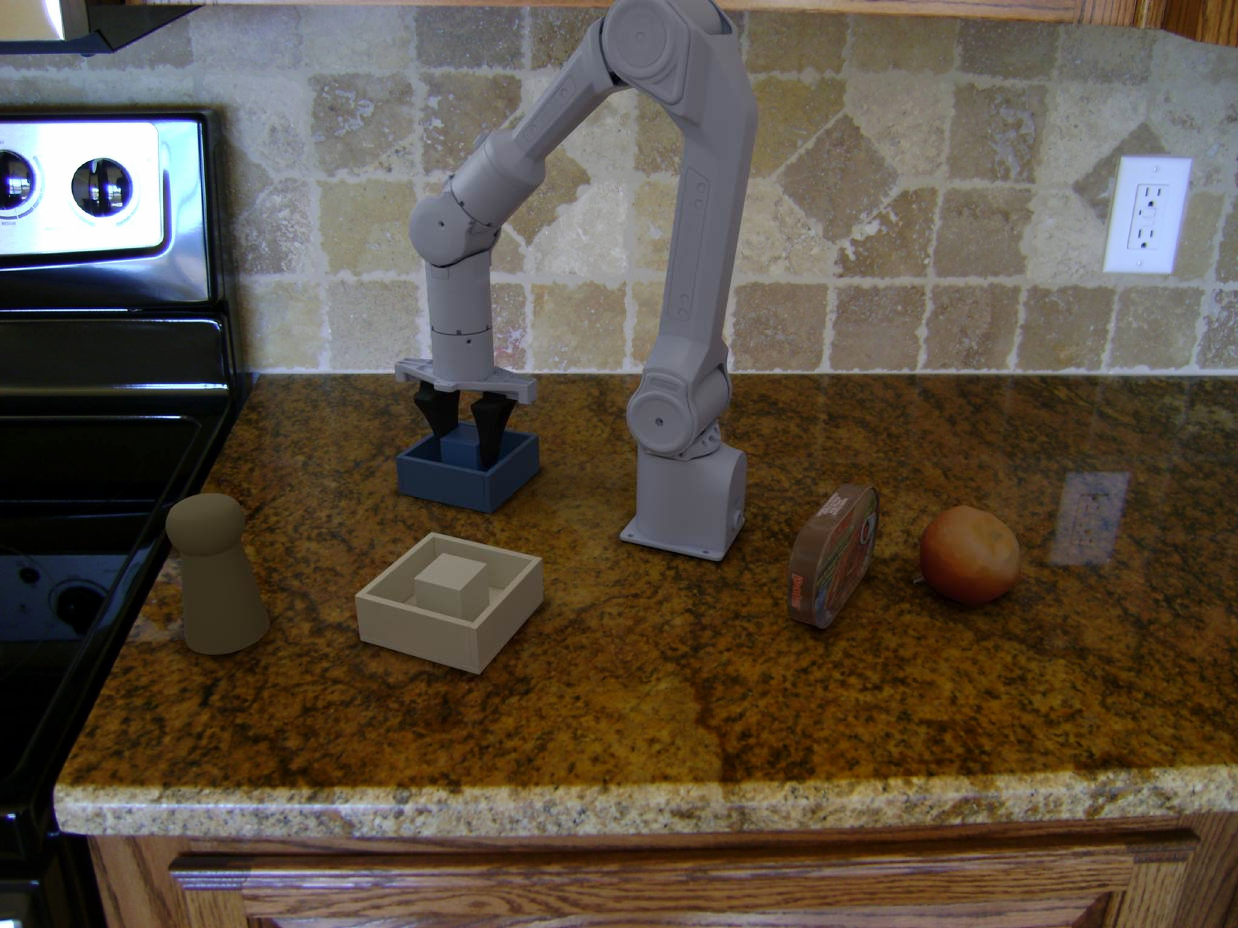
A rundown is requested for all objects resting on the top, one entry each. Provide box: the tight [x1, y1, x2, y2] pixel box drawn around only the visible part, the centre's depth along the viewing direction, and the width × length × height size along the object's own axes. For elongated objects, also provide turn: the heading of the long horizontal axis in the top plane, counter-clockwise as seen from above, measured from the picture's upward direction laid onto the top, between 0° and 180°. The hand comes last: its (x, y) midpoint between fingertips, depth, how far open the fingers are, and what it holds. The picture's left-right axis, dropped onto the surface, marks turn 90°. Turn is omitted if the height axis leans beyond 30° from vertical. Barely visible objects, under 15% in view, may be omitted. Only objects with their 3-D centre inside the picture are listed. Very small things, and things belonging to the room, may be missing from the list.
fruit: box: [913, 504, 1022, 607], centre depth 76 cm, size 8×8×8 cm
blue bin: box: [395, 419, 541, 515], centre depth 93 cm, size 10×10×4 cm
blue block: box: [440, 424, 498, 472], centre depth 92 cm, size 4×4×4 cm
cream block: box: [414, 553, 490, 622], centre depth 71 cm, size 4×4×4 cm
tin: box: [786, 482, 881, 630], centre depth 74 cm, size 15×3×8 cm, turn 148°
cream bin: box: [354, 531, 545, 676], centre depth 71 cm, size 10×10×4 cm
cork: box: [165, 492, 271, 656], centre depth 68 cm, size 6×6×11 cm
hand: (469, 458), depth 92 cm, fingers closed on blue block, 4 cm apart
